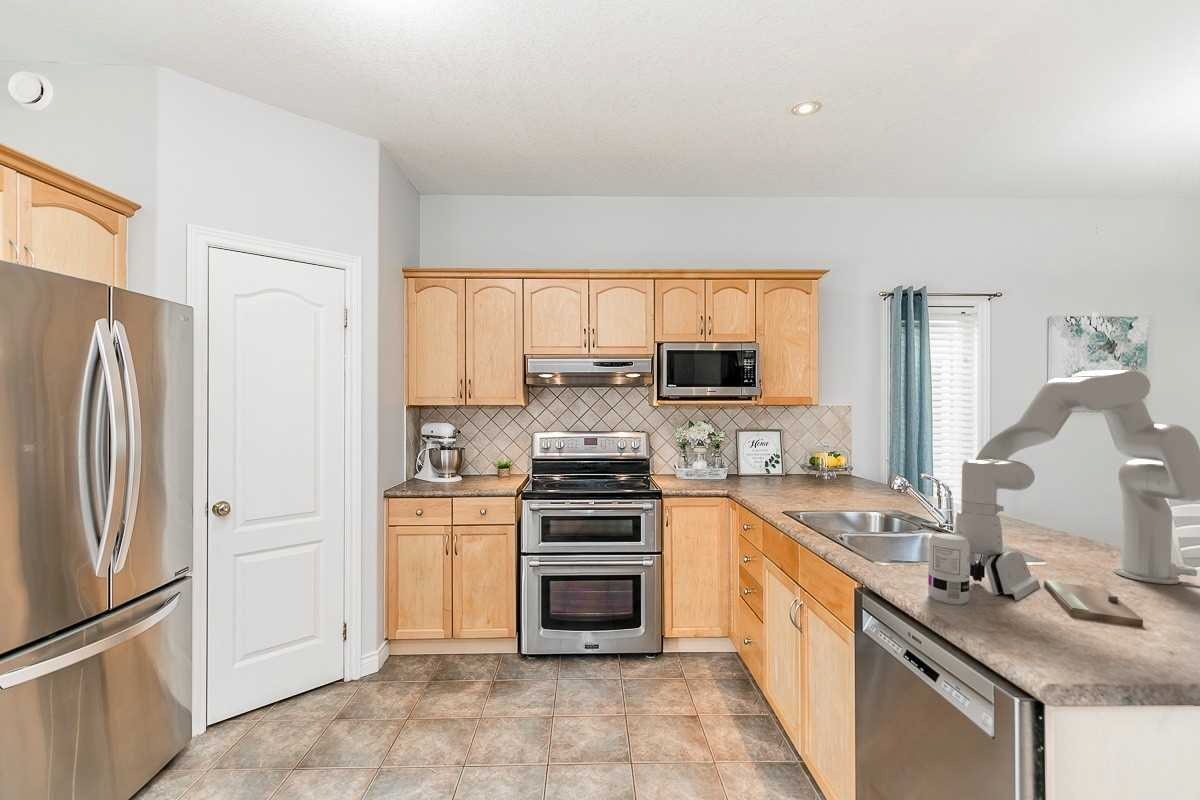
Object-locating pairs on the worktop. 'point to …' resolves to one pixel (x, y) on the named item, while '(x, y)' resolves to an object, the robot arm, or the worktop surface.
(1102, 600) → the door panel
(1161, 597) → the worktop surface
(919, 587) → the worktop surface
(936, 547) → the supplement can
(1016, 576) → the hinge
